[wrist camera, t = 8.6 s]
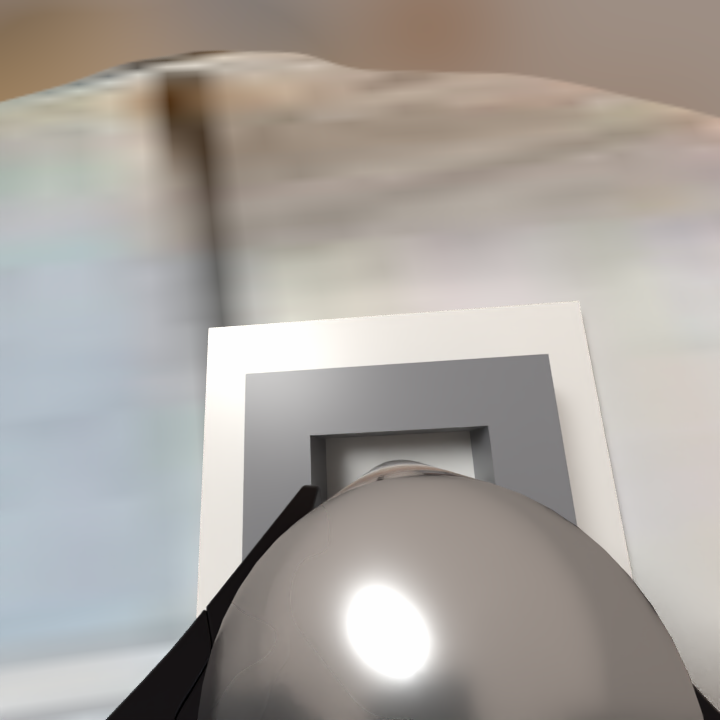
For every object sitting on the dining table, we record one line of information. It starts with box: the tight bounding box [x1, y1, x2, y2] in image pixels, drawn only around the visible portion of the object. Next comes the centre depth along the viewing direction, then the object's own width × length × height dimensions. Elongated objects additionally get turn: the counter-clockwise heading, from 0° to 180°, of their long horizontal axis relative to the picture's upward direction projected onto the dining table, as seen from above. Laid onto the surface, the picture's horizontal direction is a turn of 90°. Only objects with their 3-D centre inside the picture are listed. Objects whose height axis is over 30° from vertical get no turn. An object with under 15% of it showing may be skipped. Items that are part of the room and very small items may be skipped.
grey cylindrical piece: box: [198, 459, 704, 720], centre depth 10 cm, size 4×4×12 cm
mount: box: [196, 301, 633, 619], centre depth 16 cm, size 18×18×4 cm
